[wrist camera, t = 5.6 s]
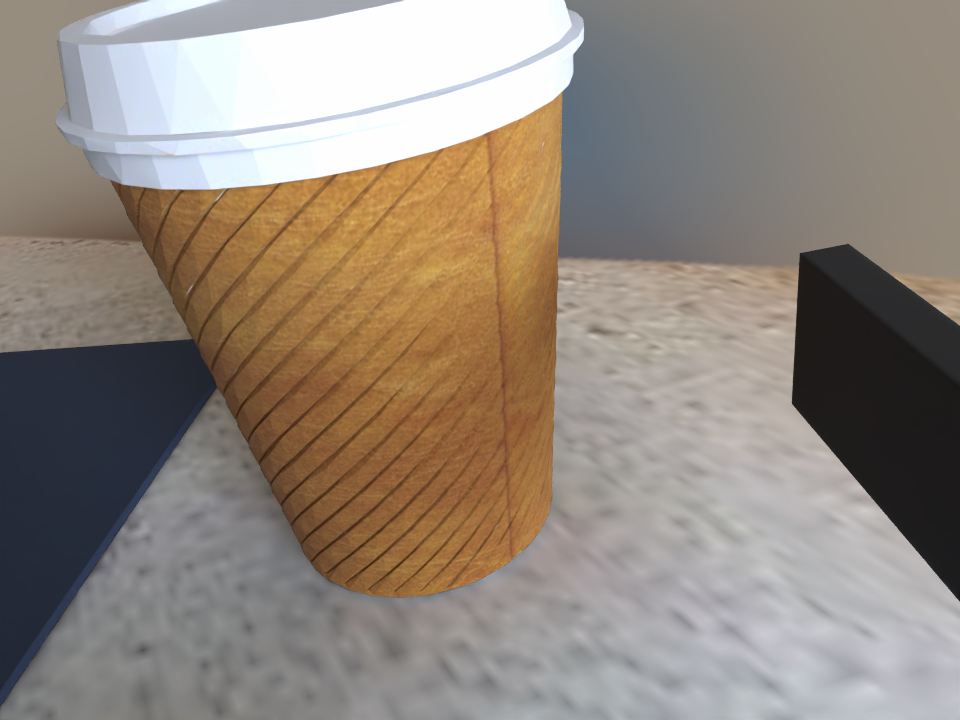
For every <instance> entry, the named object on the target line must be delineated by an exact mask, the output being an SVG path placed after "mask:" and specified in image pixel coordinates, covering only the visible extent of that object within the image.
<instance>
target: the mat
mask: <svg viewBox="0 0 960 720" xmlns="http://www.w3.org/2000/svg"><path fill="white" fill-rule="evenodd" d="M215 387H216V383H215V379H214V377H213V375H212V374H211V372H210V370H209V369H208V367H207V365H206V364H205V362H204V360H203V359H202V357H201V354H200V350H199V349H198V347H197V345H196V344H195V342H194V340H193V339H190V340H176V341H161V342H147V343H133V344H119V345H104V346H90V347H76V348H61V349H47V350H33V351H19V352H4V353H0V563H1V566H0V705H1V704H2V702H3V701H4V699H5V698H6V696H7V695H8V693H9V692H10V690H11V689H12V687H13V686H14V685H15V683H16V682H17V680H18V679H19V677H20V676H21V674H22V673H23V671H24V670H25V668H26V667H27V665H28V664H29V662H30V661H31V659H32V658H33V656H34V655H35V653H36V652H37V651H38V649H39V648H40V646H41V645H42V643H43V642H44V640H45V639H46V637H47V636H48V634H49V633H50V631H51V630H52V628H53V627H54V625H55V624H56V622H57V621H58V619H59V618H60V617H61V615H62V614H63V612H64V611H65V609H66V608H67V606H68V605H69V603H70V602H71V600H72V599H73V597H74V596H75V594H76V593H77V591H78V590H79V588H80V587H81V585H82V584H83V582H84V581H85V580H86V578H87V577H88V575H89V574H90V572H91V571H92V569H93V568H94V566H95V565H96V563H97V562H98V560H99V559H100V557H101V556H102V554H103V553H104V551H105V550H106V548H107V547H108V546H109V544H110V543H111V541H112V540H113V538H114V537H115V535H116V534H117V532H118V531H119V529H120V528H121V526H122V525H123V523H124V522H125V520H126V519H127V517H128V516H129V514H130V513H131V512H132V510H133V509H134V507H135V506H136V504H137V503H138V501H139V500H140V498H141V497H142V495H143V494H144V492H145V491H146V489H147V488H148V486H149V485H150V483H151V482H152V480H153V479H154V478H155V476H156V475H157V473H158V472H159V470H160V469H161V467H162V466H163V464H164V463H165V461H166V460H167V458H168V457H169V455H170V454H171V452H172V451H173V449H174V448H175V446H176V445H177V444H178V442H179V441H180V439H181V438H182V436H183V435H184V433H185V432H186V430H187V429H188V427H189V426H190V424H191V423H192V421H193V420H194V418H195V417H196V415H197V414H198V412H199V411H200V410H201V408H202V407H203V405H204V404H205V402H206V401H207V399H208V398H209V396H210V395H211V393H212V392H213V390H214V389H215Z"/></svg>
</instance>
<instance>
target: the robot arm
mask: <svg viewBox="0 0 960 720" xmlns="http://www.w3.org/2000/svg"><path fill="white" fill-rule="evenodd" d="M792 404H793V406H794V407H795V408H796V409H797V410H798V411H799V413H800V414H801V415H802V416H803V417H804V419H805V420H806V421H807V422H808V423H809V424H810V426H811V427H812V428H813V429H814V430H815V432H816V433H817V434H818V435H819V436H820V437H821V439H822V440H823V441H824V442H825V443H826V444H827V446H828V447H829V448H830V449H831V450H832V452H833V453H834V454H835V455H836V456H837V457H838V459H839V460H840V461H841V462H842V463H843V465H844V466H845V467H846V468H847V469H848V470H849V472H850V473H851V474H852V475H853V476H854V477H855V479H856V480H857V481H858V482H859V483H860V485H861V486H862V487H863V488H864V489H865V490H866V492H867V493H868V494H869V495H870V496H871V498H872V499H873V500H874V501H875V502H876V503H877V505H878V506H879V507H880V508H881V509H882V510H883V512H884V513H885V514H886V515H887V516H888V518H889V519H890V520H891V521H892V522H893V523H894V525H895V526H896V527H897V528H898V529H899V531H900V532H901V533H902V534H903V535H904V536H905V538H906V539H907V540H908V541H909V542H910V543H911V545H912V546H913V547H914V548H915V549H916V551H917V552H918V553H919V554H920V555H921V556H922V558H923V559H924V560H925V561H926V562H927V564H928V565H929V566H930V567H931V568H932V569H933V571H934V572H935V573H936V574H937V575H938V576H939V578H940V579H941V580H942V581H943V582H944V584H945V585H946V586H947V587H948V588H949V589H950V591H951V592H952V593H953V594H954V595H955V597H956V598H957V599H958V600H959V601H960V326H959V325H958V324H957V323H955V322H954V321H952V320H951V319H950V318H948V317H947V316H946V315H944V314H943V313H942V312H940V311H939V310H937V309H936V308H935V307H933V306H932V305H931V304H929V303H928V302H927V301H925V300H924V299H923V298H921V297H920V296H918V295H917V294H916V293H914V292H913V291H912V290H910V289H909V288H908V287H906V286H905V285H903V284H902V283H901V282H899V281H898V280H897V279H895V278H894V277H893V276H891V275H890V274H889V273H887V272H886V271H884V270H883V269H882V268H880V267H879V266H878V265H876V264H875V263H873V262H872V261H871V260H869V259H868V258H867V257H865V256H864V255H863V254H861V253H860V252H858V251H857V250H856V249H854V248H853V247H852V246H850V245H849V244H846V245H841V246H835V247H830V248H825V249H820V250H815V251H810V252H804V253H800V262H799V279H798V298H797V316H796V335H795V354H794V372H793V391H792ZM0 566H1V563H0Z"/></svg>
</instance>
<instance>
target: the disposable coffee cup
mask: <svg viewBox="0 0 960 720" xmlns="http://www.w3.org/2000/svg"><path fill="white" fill-rule="evenodd" d="M583 34H584V24H583V19H582V18H581V17H580V16H579V15H578V14H577V13H576V12H574V11H571V10H569V9H567V8H566V5H565V1H564V0H140V1H136V2H133V3H130V4H127V5H123V6H120V7H117V8H114V9H111V10H107V11H104V12H101V13H97V14H94V15H92V16H90V17H87V18H85V19H82V20H80V21H78V22H75V23H72V24H70V25H69V26H67V27H66V28H64V29H62V30H61V31H59V35H58V39H57V45H58V51H59V57H60V64H61V69H62V75H63V82H64V88H65V94H66V100H67V103H66V104H65V105H64V106H63V107H62V108H61V109H60V110H59V111H58V112H57V114H56V125H57V127H58V129H59V130H60V132H61V133H62V134H63V136H64V137H65V138H66V140H67V141H68V142H69V143H70V144H72V145H75V146H78V147H81V148H82V149H83V152H84V154H85V156H86V158H87V160H88V162H89V164H90V166H91V167H92V168H93V170H94V171H95V172H96V173H97V174H98V175H100V176H102V177H104V178H107V179H110V180H111V182H112V185H113V186H114V188H115V190H116V192H117V193H118V196H119V197H120V199H121V201H122V203H123V205H124V207H125V210H126V213H127V216H128V217H129V219H130V221H131V222H132V224H133V226H134V228H135V229H136V231H137V233H138V234H139V236H140V238H141V239H142V243H143V246H144V248H145V250H146V251H147V253H148V255H149V256H150V258H151V260H152V261H153V263H154V265H155V266H156V268H157V271H158V275H159V277H160V278H161V280H162V282H163V283H164V285H165V287H166V288H167V290H168V292H169V294H170V295H171V297H172V299H173V304H174V305H175V307H176V309H177V310H178V312H179V314H180V315H181V317H182V319H183V321H184V322H185V324H186V326H187V330H188V332H189V334H190V335H191V337H192V339H193V340H194V342H195V344H196V345H197V347H198V349H199V350H200V354H201V357H202V359H203V360H204V362H205V364H206V365H207V367H208V369H209V370H210V372H211V374H212V375H213V377H214V379H215V383H216V386H217V388H218V389H219V391H220V392H221V394H222V395H223V397H224V398H225V401H226V404H227V406H228V408H229V409H230V411H231V413H232V414H233V416H234V418H235V419H236V421H237V423H238V427H239V429H240V431H241V432H242V434H243V436H244V437H245V439H246V441H247V442H248V444H249V448H250V450H251V452H252V453H253V455H254V457H255V458H256V460H257V462H258V463H259V465H260V467H261V471H262V472H263V474H264V476H265V477H266V479H267V481H268V483H269V484H270V486H271V488H272V492H273V493H274V495H275V497H276V498H277V500H278V502H279V504H280V505H281V507H282V510H283V512H284V514H285V516H286V518H287V519H288V521H289V523H290V525H291V527H292V529H293V531H294V533H295V535H296V537H297V539H298V541H299V542H300V544H301V546H302V549H303V552H304V554H305V555H306V557H307V558H308V559H309V561H310V562H311V563H312V565H313V566H314V567H315V569H316V570H317V571H318V572H319V573H321V574H322V575H323V576H324V577H326V578H327V579H328V580H330V581H332V582H334V583H336V584H338V585H340V586H342V587H344V588H346V589H348V590H352V591H356V592H360V593H364V594H368V595H372V596H384V597H397V598H401V597H413V596H425V595H431V594H435V593H439V592H443V591H447V590H451V589H455V588H459V587H462V586H464V585H467V584H469V583H472V582H475V581H477V580H480V579H482V578H484V577H486V576H487V575H489V574H491V573H493V572H494V571H496V570H498V569H500V568H501V567H503V566H505V565H506V564H507V563H509V562H510V561H511V560H512V559H513V558H514V557H516V556H517V555H518V554H519V553H520V552H521V551H523V550H524V549H525V548H526V547H527V546H528V545H529V544H530V543H531V542H532V540H533V539H534V538H535V537H536V536H537V534H538V533H539V532H540V530H541V528H542V526H543V524H544V522H545V520H546V518H547V517H548V514H549V510H550V505H551V501H552V457H553V429H554V421H553V417H554V388H555V364H556V317H557V289H558V239H559V226H560V217H559V208H560V194H561V190H560V174H561V114H562V91H563V90H564V89H565V88H566V87H567V86H568V85H569V82H570V80H571V77H572V75H573V53H574V52H576V50H577V49H578V47H579V46H580V45H581V43H582V42H583V36H584V35H583Z"/></svg>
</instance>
